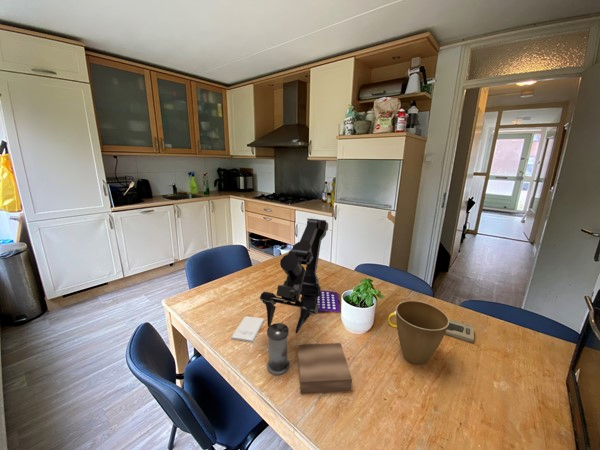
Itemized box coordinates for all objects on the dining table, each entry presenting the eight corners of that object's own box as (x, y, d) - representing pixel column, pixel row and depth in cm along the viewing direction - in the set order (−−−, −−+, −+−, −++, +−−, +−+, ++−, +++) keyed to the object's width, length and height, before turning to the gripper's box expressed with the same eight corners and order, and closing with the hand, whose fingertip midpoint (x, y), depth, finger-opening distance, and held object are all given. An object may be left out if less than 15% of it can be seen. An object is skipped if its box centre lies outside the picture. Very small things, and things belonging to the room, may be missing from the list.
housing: (282, 354, 83) (282, 320, 79) (293, 368, 77) (293, 332, 74) (263, 363, 79) (262, 327, 75) (273, 379, 73) (273, 341, 70)
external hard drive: (264, 322, 100) (253, 344, 88) (244, 319, 101) (231, 340, 89) (264, 318, 99) (252, 340, 87) (244, 316, 101) (230, 336, 89)
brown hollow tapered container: (381, 347, 86) (385, 306, 82) (414, 336, 92) (419, 296, 88) (416, 382, 73) (423, 335, 69) (452, 366, 78) (461, 321, 74)
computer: (423, 329, 96) (424, 321, 95) (426, 318, 103) (427, 311, 102) (473, 345, 88) (474, 337, 87) (472, 332, 95) (474, 324, 94)
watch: (403, 326, 97) (406, 313, 96) (403, 331, 95) (406, 317, 93) (387, 322, 99) (390, 309, 98) (387, 326, 97) (389, 313, 95)
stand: (297, 355, 82) (297, 344, 81) (339, 353, 83) (340, 342, 82) (300, 393, 69) (300, 381, 68) (351, 391, 70) (352, 379, 69)
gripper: (261, 269, 82) (245, 318, 74) (317, 277, 76) (306, 332, 69) (271, 280, 91) (258, 325, 84) (322, 289, 85) (313, 338, 78)
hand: (282, 330), depth 78 cm, fingers open, 9 cm apart
